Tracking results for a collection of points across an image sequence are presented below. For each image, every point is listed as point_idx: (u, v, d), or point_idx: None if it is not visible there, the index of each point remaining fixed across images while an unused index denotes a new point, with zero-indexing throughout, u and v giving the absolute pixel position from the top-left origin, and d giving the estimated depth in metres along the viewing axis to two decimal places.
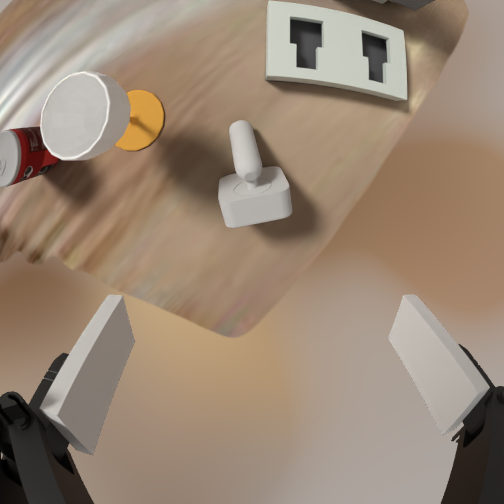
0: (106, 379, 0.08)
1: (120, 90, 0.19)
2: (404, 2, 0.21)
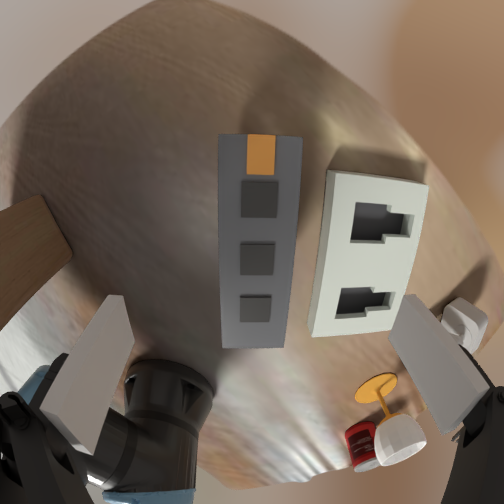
0: (106, 379, 0.08)
1: (400, 435, 0.29)
2: None
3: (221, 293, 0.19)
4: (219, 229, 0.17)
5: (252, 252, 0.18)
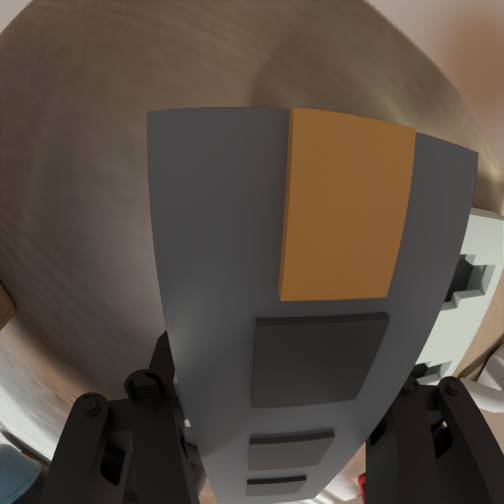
0: None
1: None
2: None
3: (210, 477, 0.07)
4: (191, 418, 0.05)
5: (279, 450, 0.06)
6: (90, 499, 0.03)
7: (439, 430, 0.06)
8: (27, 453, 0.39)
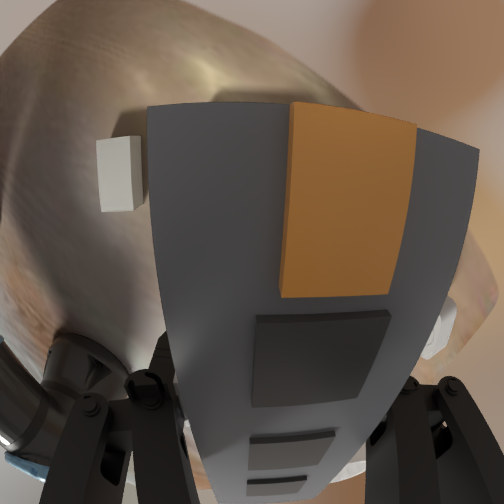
0: None
1: None
2: None
3: (210, 477, 0.07)
4: (190, 418, 0.05)
5: (279, 450, 0.06)
6: (90, 499, 0.03)
7: (439, 430, 0.06)
8: None
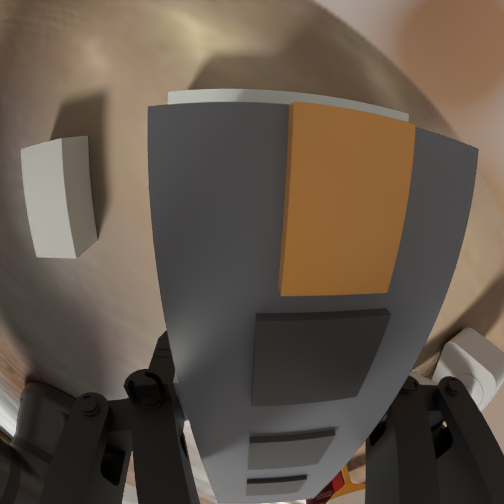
0: None
1: None
2: None
3: (210, 477, 0.07)
4: (190, 416, 0.05)
5: (279, 449, 0.06)
6: (90, 499, 0.03)
7: (439, 430, 0.06)
8: None
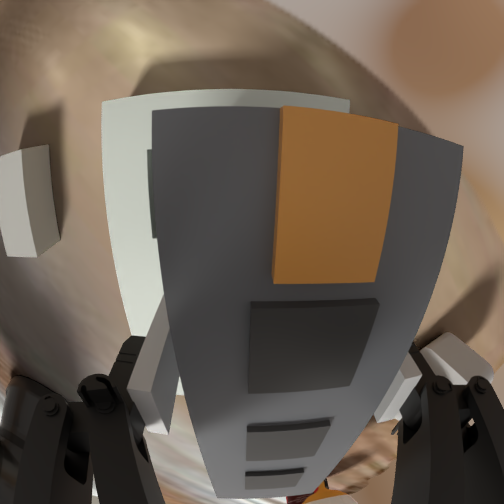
0: None
1: None
2: None
3: (209, 469, 0.07)
4: (190, 405, 0.06)
5: (275, 439, 0.06)
6: (57, 496, 0.03)
7: (465, 429, 0.06)
8: None
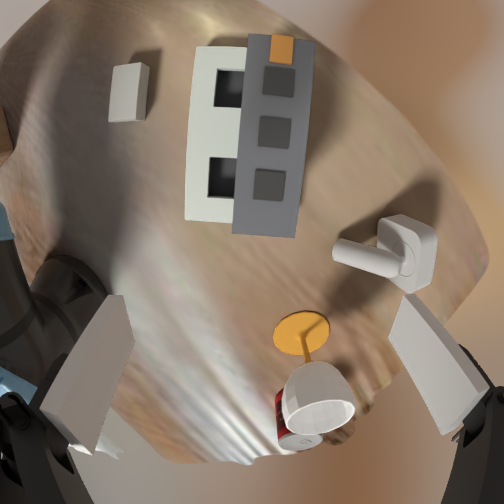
0: (106, 379, 0.08)
1: (310, 384, 0.27)
2: None
3: (237, 165, 0.19)
4: (242, 103, 0.18)
5: (270, 125, 0.18)
6: (1, 497, 0.02)
7: None
8: None
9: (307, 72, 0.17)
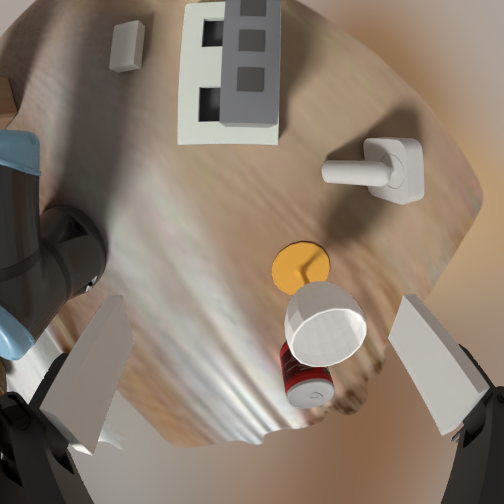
0: (106, 379, 0.08)
1: (313, 296, 0.27)
2: None
3: (222, 66, 0.19)
4: (224, 22, 0.17)
5: (248, 34, 0.18)
6: (1, 497, 0.02)
7: None
8: None
9: None
